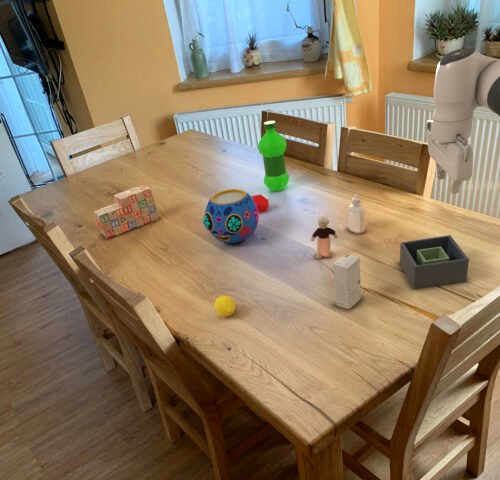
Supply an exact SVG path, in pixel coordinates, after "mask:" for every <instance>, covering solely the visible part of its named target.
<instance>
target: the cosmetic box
mask: <svg viewBox="0 0 500 480" xmlns="http://www.w3.org/2000/svg"><path fill="white" fill-rule="evenodd" d="M360 259H361V258H360V256H355V255H352V254H347V253H345V254H344V255H343V256H342V257H339V259H338V260H337V261H336V262H335V263H333V265H332V269H333V283H334V284H333V285H334V303H335V305H336V306H338V307H340V308H343V309H347V310H349V309H351V308H352V307H354V306H355V305H356V304H357V303H358V302H359V301H360V300H361V299H362V289H361V260H360Z"/></svg>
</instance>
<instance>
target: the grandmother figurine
mask: <svg viewBox="0 0 500 480" xmlns="http://www.w3.org/2000/svg"><path fill="white" fill-rule="evenodd" d="M329 224H330V220H329V219H328V217H326V216H319V217H318V219H317V225H318V227H317V228H316V230H314V232H313V234H312V236H311V238H310V241H311V242H314V241H315V240H316V238H317V240H316V242H317V243H316V244H317V245H316V248H317V249H316V251H317V254H316V256H315V258H316V259H322V258H323V257H324V258H331V257H332V254H331V238H330V237H331V236H332V237H333V238H334V239H337V238H338V234H337V232H336V230H334V229H333V228H331V227H329V226H328V225H329ZM330 235H331V236H330Z"/></svg>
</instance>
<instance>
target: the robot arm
mask: <svg viewBox="0 0 500 480" xmlns="http://www.w3.org/2000/svg"><path fill="white" fill-rule="evenodd" d="M433 84H434V85H433V102H434V109H433V112H432V119H428V120H427V121H426V129H427V151H428V155H429V157H430V158H432V159H433V161H434V166H435V170H436V178H437V180H439V181H440V180H445V179H446V174H447V175H448V176H449V177H451V181H452V182H451V184H450V185H449V192H450V193H451V194H452V195H455V194H456V195H457V194H459V192H460V187H461V185H462V183H463V182H466V181H469V180H471V178H472V177H473V172H474V149H473V147H472V146H471V145H470V144H469V141H468V139H470V138H471V136H472V131H473V121H474V114H475V113H474V112H475V109H477V108H479V107H482V108H484V109H487V110H489V111H491V112H493V113H494V114H495V115H497V116H499V117H500V58H497V57H491V56H488V55H485V54H482V53H480V52H478V51H477V50H476V49H475V48H472V47H463V48H458V49H455V50H452V51H450V52H448V53H446V54H445V55H444V56H442V57H441V59H440V60H439V62H438V63H437V66H436V71H435V76H434V83H433Z"/></svg>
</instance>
